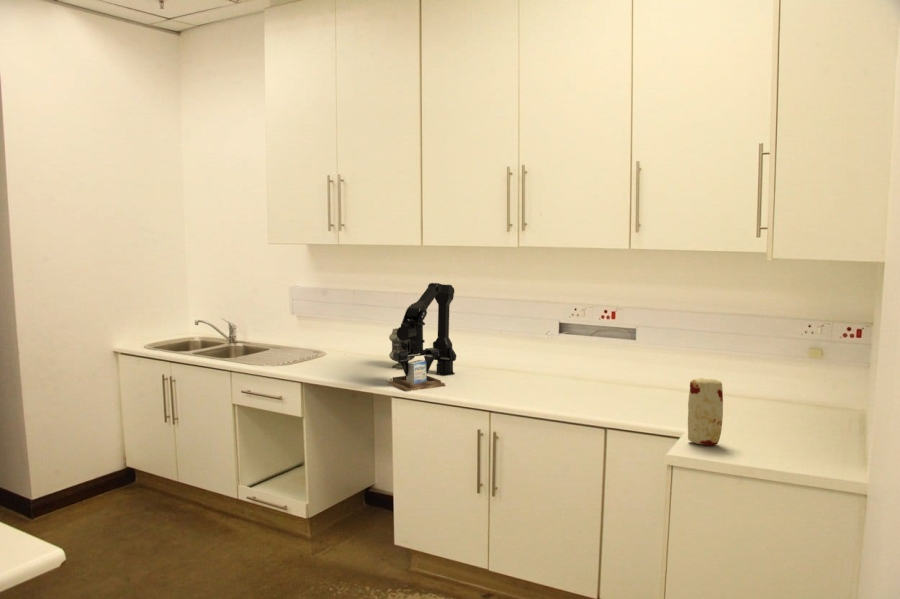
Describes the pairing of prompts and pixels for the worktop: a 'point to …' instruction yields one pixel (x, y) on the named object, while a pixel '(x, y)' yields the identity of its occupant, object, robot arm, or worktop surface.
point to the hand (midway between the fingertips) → (416, 374)
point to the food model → (705, 411)
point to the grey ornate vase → (396, 348)
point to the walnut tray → (406, 386)
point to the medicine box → (416, 372)
